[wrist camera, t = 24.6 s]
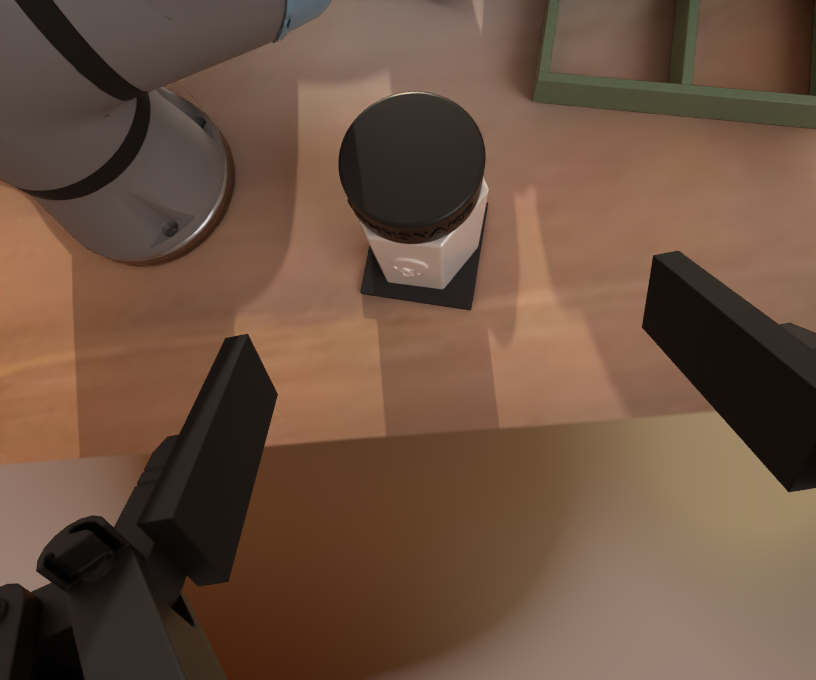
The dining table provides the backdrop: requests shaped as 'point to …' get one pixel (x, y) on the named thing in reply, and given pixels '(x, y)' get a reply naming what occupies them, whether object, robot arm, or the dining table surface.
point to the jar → (416, 185)
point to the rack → (672, 84)
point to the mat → (451, 296)
